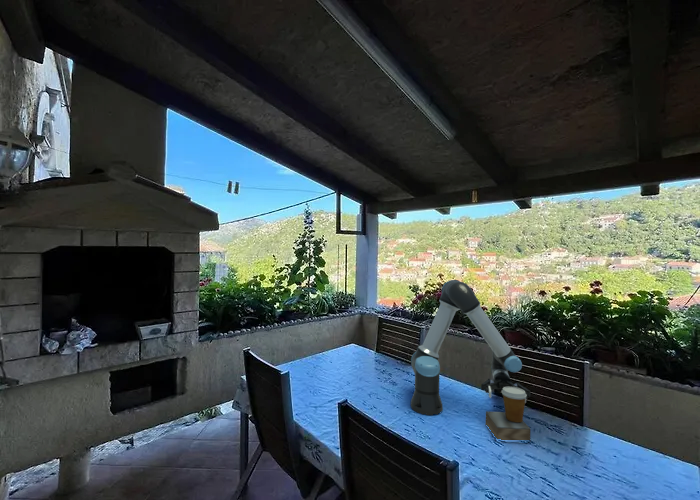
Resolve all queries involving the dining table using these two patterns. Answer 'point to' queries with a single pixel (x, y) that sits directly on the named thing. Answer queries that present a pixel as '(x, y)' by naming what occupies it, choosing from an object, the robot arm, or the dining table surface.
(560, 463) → the dining table surface
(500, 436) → the block
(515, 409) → the disposable coffee cup
